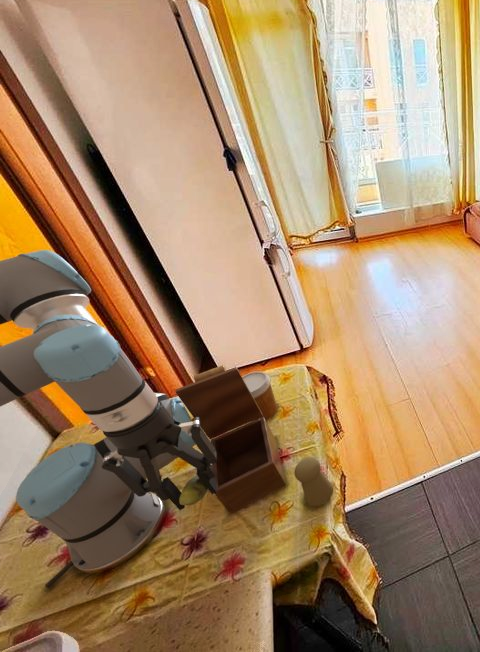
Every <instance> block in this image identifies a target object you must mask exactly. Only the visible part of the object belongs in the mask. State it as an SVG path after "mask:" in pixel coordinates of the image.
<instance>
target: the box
mask: <svg viewBox="0 0 480 652" xmlns="http://www.w3.org/2000/svg"><path fill="white" fill-rule="evenodd" d="M210 442H211V443H212V445H213V446H214V448H215V449H216V452H217V462H216V463H213V464H211V465H212V467H213V468H214V469H215V477H214V479H215V480H216V488H217V493H215V494H214V496H215V497H216V498H217V500H218V501H219V502H220V503H221V505H222V506H223V507H224V509H225V510H226V511H227V512H228V514H229V515H233V514H235V513H237V512H238V511H240V510H242V509H245V508H246V507H248V506H250V505H252V504H254V503H255V502H257V501H259V500H261V499H264V498H265V497H268V496H269V495H270V494H273V493H274V492H277V491H278V490H280V489H282V488H284V487H285V486H287V481H286V478H285V473H284V469H283V465H282V461H281V456H280V452H279V447H278V444H277V439H276V436H275V435H274V433H273V431H272V429H271V427H270V426H269V424H268V422H267V419H266V420H265V418H264V417H261V418H259V419H257V420H253V421H251V422H249V423H246V424H244V425H242V426H240V427H237V428H235V429H233V430H231V431H228V432H226V433H224V434H221V435H219V436H217V437H215V438H212V439H210Z"/></svg>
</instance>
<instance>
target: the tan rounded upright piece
mask: <svg viewBox="0 0 480 652" xmlns="http://www.w3.org/2000/svg"><path fill="white" fill-rule="evenodd" d="M321 469H322V467H321V462H320V461H319V459H317V458H316V457H314V456H307V457H303V458H301V460H300V461H299V462H297V464H296V465H295V467H294V477H295V479H296V480H297V481H299V482H300V484H301V487H302V491H303V495H304V498H305V502H306V503H307V505H309V506H310V507H319V506H320V507H321V506H322V505H324V504H325V503H327V502H328V501H329V500H330V499H331V497H332V495H333V492H334V485H333V484H332V483H331V481H330V480H329V479H328V478H327V476H326V475H325V473H324V472H323V471H322V470H321Z"/></svg>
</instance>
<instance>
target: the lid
mask: <svg viewBox="0 0 480 652" xmlns="http://www.w3.org/2000/svg"><path fill="white" fill-rule="evenodd" d="M242 376H243V375H242V374H241V372H240V370H239V369H238V367H237V366H235V367H232V368H229V369H227V368H226V365H224V364H222V365H219V366H217V367H214V368H211V369H208V370H206V371H203V372H200V373H198V374H194V375H193V379H194V381H193V382H192V383H189V384H186V385H184V386H182V387H178V388H175V389H174V392H175V394H176V395H177V396H178V398H179V399H180V400H181V402H182V404H183V405H184V407H185V408H186V410H187V411H188V413H190V415H191V416H192V417H193V418H195V417H198V418H200V427H201V428H202V430H203V431H204V433H205V434H206V436H207V437H208V439H209V440H211V439H213V438H216V437H218V436H220V435H223V434H225V433H227V432H229V431H232V430H234V429H236V428H239V427H241V426H243V425H245V424H248V423H250V422H252V421H255V420H256V419H258V418H260V417H262V416H263V414H262V412H261V410H260V408H259V407H258V405H257V403H256V401H255V399H254V398H253V396H252V394H251V392H250V390H249V389H248V387H247V385H246V383H245V381H244V380H243V378H242Z"/></svg>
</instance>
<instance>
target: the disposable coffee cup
mask: <svg viewBox="0 0 480 652" xmlns="http://www.w3.org/2000/svg"><path fill="white" fill-rule="evenodd" d="M241 376H242V378H243V380H244V381H245V383H246V385H247V387H248V389H249V390H250V392H251V394H252V396H253V398H254V399H255V401H256V403H257V405H258V407H259V408H260V410H261V412H262V414H263V416H262V417H264V418H265V420H266V421H267V420H269V419H270V418H272V417H273V416H274V415H275V414H276V413H277V411H278V405H277V401H276V398H275V395H274V392H273V388H272V384H271V382H272V381H271V377H270V375H268V374H266V372H263V371H251V372H249V373H246V374H244V375H241ZM260 418H261V417H260ZM258 419H259V418H258ZM256 420H257V419H256Z"/></svg>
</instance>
